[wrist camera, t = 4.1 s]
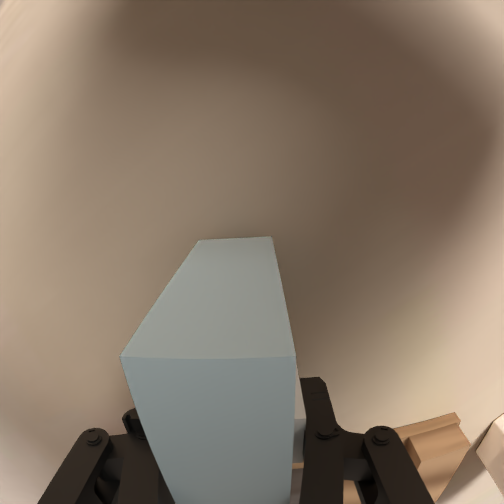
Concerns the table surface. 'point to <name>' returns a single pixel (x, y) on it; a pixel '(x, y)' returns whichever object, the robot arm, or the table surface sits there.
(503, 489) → the jar
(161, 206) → the table surface
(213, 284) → the door
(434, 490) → the brown piece
